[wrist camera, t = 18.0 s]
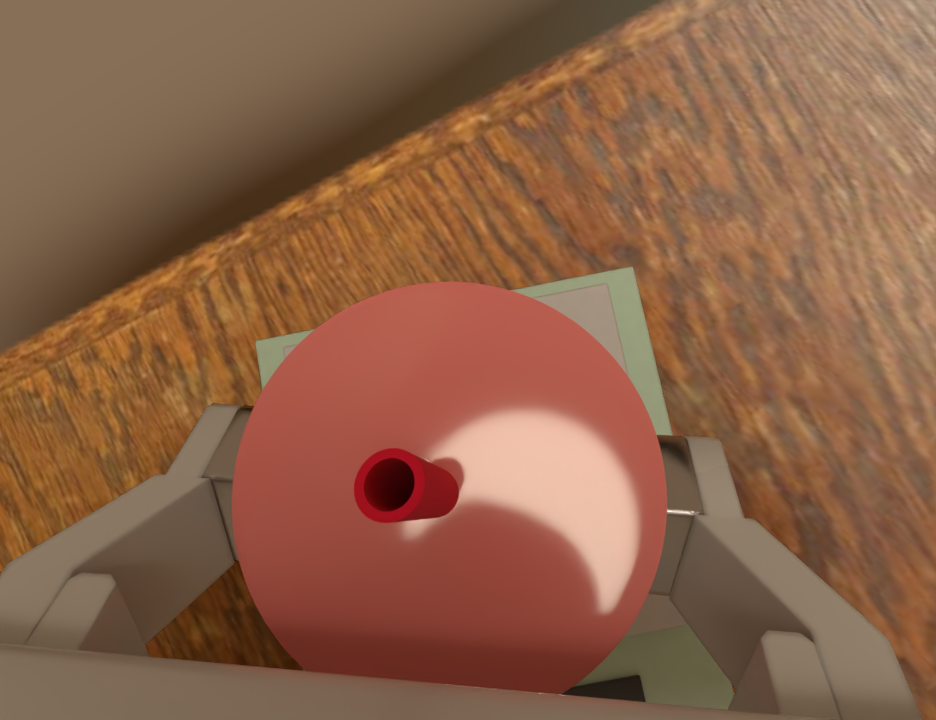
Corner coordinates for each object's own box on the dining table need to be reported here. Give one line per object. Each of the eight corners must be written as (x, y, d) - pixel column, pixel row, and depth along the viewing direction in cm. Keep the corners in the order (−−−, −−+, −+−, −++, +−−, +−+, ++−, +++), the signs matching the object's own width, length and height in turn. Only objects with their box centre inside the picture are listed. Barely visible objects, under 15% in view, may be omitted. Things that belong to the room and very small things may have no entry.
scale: (343, 783, 22) (318, 832, 19) (278, 352, 24) (247, 336, 21) (719, 714, 22) (754, 752, 19) (620, 285, 24) (636, 259, 21)
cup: (350, 397, 18) (49, 261, 6) (556, 352, 18) (661, 126, 6) (390, 612, 17) (130, 945, 5) (606, 567, 17) (845, 800, 5)
